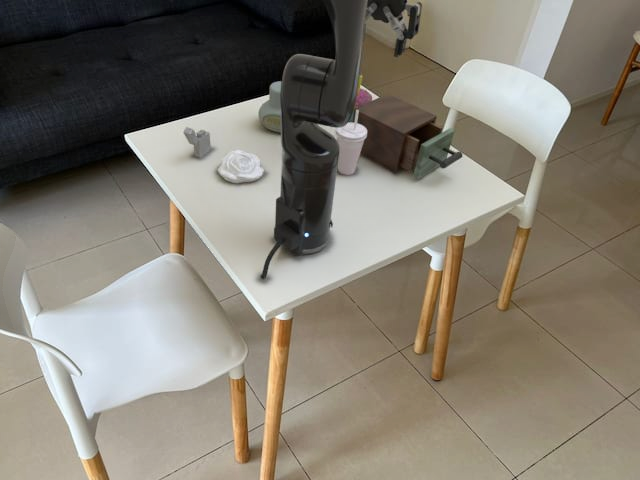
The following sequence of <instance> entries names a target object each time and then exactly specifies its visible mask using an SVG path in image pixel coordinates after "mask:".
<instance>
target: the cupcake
mask: <svg viewBox="0 0 640 480" xmlns="http://www.w3.org/2000/svg"><path fill="white" fill-rule="evenodd" d="M362 81H363V73H360V75H359V83H358V91H357V98H356V103H355V107H354V109H355V108H357V107H360V106H362V105H364V104H366V103H368V102H370V101H373V96H372V94H371V93H370V92H369V91H368V90H366V89H364V88H362V87H361V85H362ZM353 113H354V111H353ZM352 120H353V114H352V116H351V118H350V120H349V122H352Z"/></svg>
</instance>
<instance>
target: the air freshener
mask: <svg viewBox="0 0 640 480" xmlns="http://www.w3.org/2000/svg"><path fill="white" fill-rule="evenodd" d="M281 81H282V80H280V81H279V80H278V81H274V82H272V83H271V84H270V85H269V91H268V93H269V94H268V95H269V99H268V100H266V101H265V102H264V103H262V104H261V106H260V107H259V109H258V119H259V122H260V123H261V124H262V125H263V126H264V127H265V128H267V129H269V130H270V131H273V132H276V133H281V108H280V92H281Z"/></svg>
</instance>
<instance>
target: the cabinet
mask: <svg viewBox="0 0 640 480" xmlns="http://www.w3.org/2000/svg"><path fill="white" fill-rule="evenodd" d="M356 110H359V113H358V120H357V124H360V125H362V126H364V127H365V128H366V129H367V137H366V138H365V139H364V142H363V146H362V149H361V152H360V155H361V156H363V157H365V158H367V159H368V160H370V161H372V162H374V163H376V164H377V165H379V166H382V167H383V168H385V169H386V170H389V171H391V172H393V173H394V174H396V173H398V172H400V171H401V170H403V169H404V168H402V167H400V166H399V163H400V159H401V154H402V150H403V145H404V140H405V136H406V135H408V134H410V133H412V132H413V131H415V130H417V129H419V128H421V127H423V126H425V125H426V124H428V123H430V122H432V123H434V124H436V121H437V119H438V118H437V117H438V116H437V115H436V114H435V113H432V112H429V111H427V110H426V109H425V110H424V109H423V108H420V107H418V106H416V105H414V104H411V103H410V102H407V101H405V100H403V99H400V98H398V97H396V96H394V95H392V94H389V93H386V94H384V95H382V96H380V97H377V98H375V99H372V101H370V102H368V103H366V104H364V105H362V106H360V107H357V108H355V109H354V113H353V120H352V121H351V123H354V122H355V115H356Z"/></svg>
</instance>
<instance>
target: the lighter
mask: <svg viewBox="0 0 640 480" xmlns="http://www.w3.org/2000/svg"><path fill="white" fill-rule="evenodd" d="M183 135H184V136H185V138H186V140H187V141H188V144H190V145H193V153H194V157H195V158H199V159H202V158H203V157H204V156H205V155H207V154H208V153H209V152H211V150H212V148H211V146H212V145H211V132H210V131H206V130H205V129H200V130H198V131H197V132H195V130H194V129H193V128H191V127H188V126H186V127H185V128H184V130H183Z"/></svg>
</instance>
